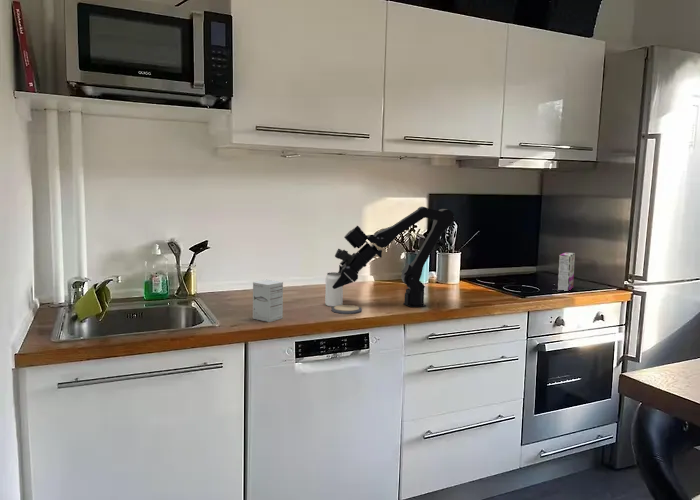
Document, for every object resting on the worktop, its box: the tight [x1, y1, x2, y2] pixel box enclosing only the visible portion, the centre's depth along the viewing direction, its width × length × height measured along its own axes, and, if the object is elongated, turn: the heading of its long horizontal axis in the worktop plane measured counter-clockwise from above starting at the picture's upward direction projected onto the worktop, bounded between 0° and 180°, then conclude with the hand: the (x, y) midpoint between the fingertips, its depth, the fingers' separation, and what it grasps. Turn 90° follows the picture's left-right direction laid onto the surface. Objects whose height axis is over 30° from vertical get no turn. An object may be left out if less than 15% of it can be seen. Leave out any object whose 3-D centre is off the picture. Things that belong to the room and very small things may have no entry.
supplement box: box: [252, 279, 284, 323], centre depth 191 cm, size 7×7×13 cm
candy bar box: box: [557, 252, 576, 292], centre depth 254 cm, size 11×5×16 cm, turn 148°
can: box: [324, 271, 344, 308], centre depth 214 cm, size 6×6×12 cm
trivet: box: [331, 304, 363, 315], centre depth 206 cm, size 11×11×1 cm
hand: (332, 285), depth 214 cm, fingers open, 9 cm apart
